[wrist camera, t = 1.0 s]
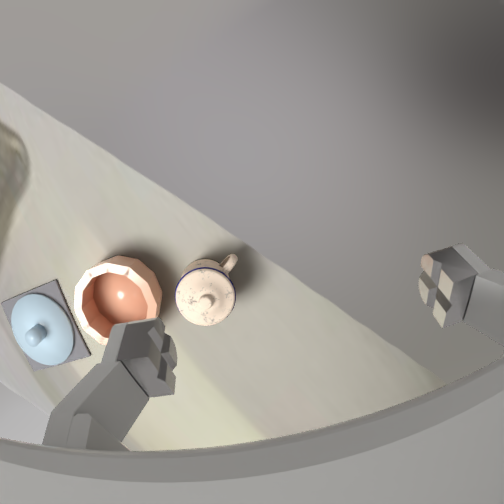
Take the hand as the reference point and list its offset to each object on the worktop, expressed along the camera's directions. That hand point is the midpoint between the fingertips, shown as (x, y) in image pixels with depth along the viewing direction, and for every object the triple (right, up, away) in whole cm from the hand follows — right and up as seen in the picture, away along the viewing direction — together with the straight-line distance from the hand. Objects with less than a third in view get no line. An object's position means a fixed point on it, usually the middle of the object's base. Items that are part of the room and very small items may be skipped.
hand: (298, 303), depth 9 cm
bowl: (-24, -6, +45) cm, 51 cm away
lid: (-43, -14, +43) cm, 62 cm away
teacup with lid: (-9, -3, +47) cm, 47 cm away
